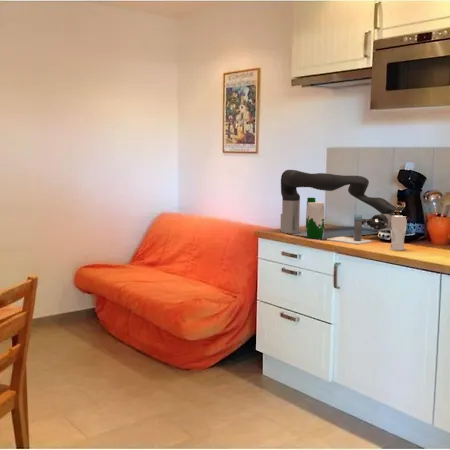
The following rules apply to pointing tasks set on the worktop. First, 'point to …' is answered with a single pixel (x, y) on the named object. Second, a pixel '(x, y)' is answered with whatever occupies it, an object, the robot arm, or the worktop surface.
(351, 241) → the pad
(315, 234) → the milk carton
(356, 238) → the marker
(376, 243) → the worktop surface
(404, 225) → the beer glass
